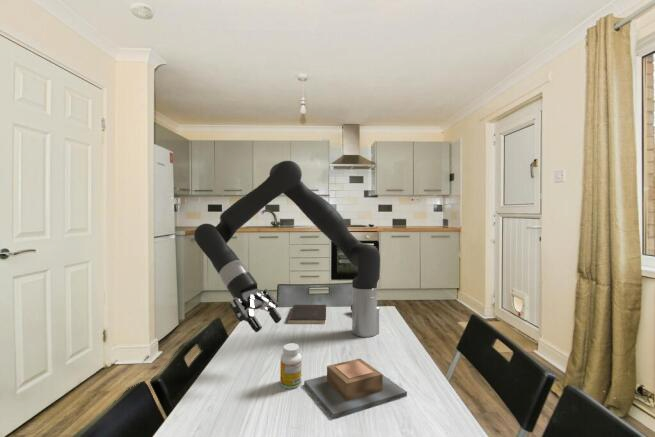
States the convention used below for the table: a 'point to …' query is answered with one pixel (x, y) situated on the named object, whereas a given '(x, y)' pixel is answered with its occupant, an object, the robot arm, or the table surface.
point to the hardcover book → (307, 314)
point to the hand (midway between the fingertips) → (269, 325)
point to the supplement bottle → (290, 366)
